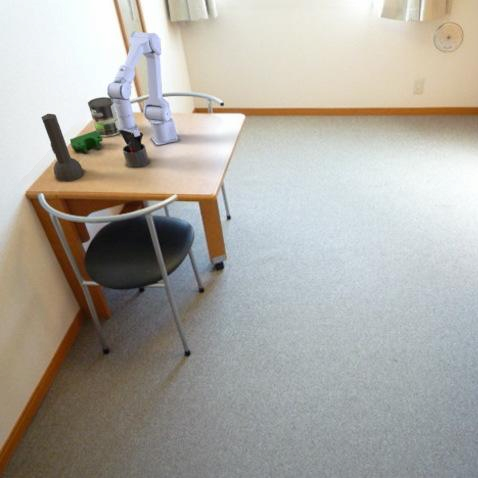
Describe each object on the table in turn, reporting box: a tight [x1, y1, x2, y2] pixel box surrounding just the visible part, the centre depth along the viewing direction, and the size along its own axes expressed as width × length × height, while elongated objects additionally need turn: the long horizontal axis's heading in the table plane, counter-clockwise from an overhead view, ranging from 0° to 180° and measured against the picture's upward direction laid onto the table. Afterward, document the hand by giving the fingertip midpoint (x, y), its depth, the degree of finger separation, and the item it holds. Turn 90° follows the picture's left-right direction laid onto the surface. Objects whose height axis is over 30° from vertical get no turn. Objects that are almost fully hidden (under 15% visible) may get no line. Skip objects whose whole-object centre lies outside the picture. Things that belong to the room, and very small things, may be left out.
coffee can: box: [87, 96, 121, 138], centre depth 214 cm, size 10×10×14 cm
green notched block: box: [69, 130, 103, 155], centre depth 203 cm, size 12×6×9 cm, turn 130°
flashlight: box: [41, 113, 84, 182], centre depth 181 cm, size 10×25×10 cm
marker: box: [128, 141, 137, 152], centre depth 193 cm, size 3×3×8 cm
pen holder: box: [122, 143, 149, 169], centre depth 194 cm, size 8×8×6 cm
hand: (133, 147), depth 192 cm, fingers open, 7 cm apart
